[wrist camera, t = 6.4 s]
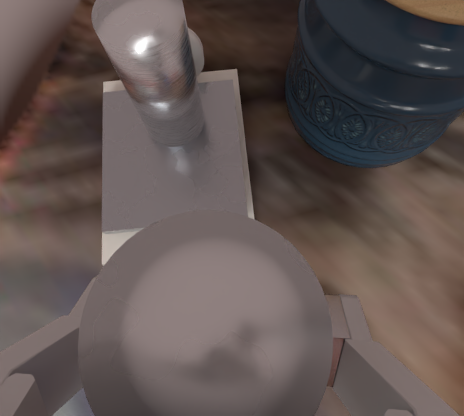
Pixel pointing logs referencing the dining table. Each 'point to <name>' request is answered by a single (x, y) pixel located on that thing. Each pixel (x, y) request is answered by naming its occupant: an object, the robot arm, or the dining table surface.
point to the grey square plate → (169, 164)
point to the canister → (376, 77)
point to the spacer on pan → (154, 64)
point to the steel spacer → (205, 323)
